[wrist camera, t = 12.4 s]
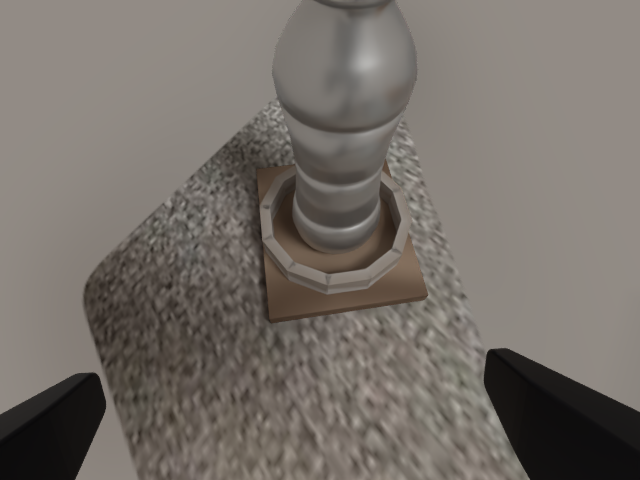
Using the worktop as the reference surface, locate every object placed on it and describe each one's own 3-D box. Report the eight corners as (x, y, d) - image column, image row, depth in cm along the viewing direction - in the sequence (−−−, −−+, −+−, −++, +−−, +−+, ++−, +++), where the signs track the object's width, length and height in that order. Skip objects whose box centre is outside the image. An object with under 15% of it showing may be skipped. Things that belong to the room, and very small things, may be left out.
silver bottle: (382, 258, 27) (497, -40, 10) (298, 268, 27) (255, -23, 9) (367, 191, 30) (433, -129, 13) (290, 200, 30) (247, -119, 12)
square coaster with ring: (424, 300, 27) (436, 285, 24) (271, 323, 26) (265, 311, 23) (382, 162, 33) (387, 138, 31) (258, 177, 33) (252, 154, 30)
